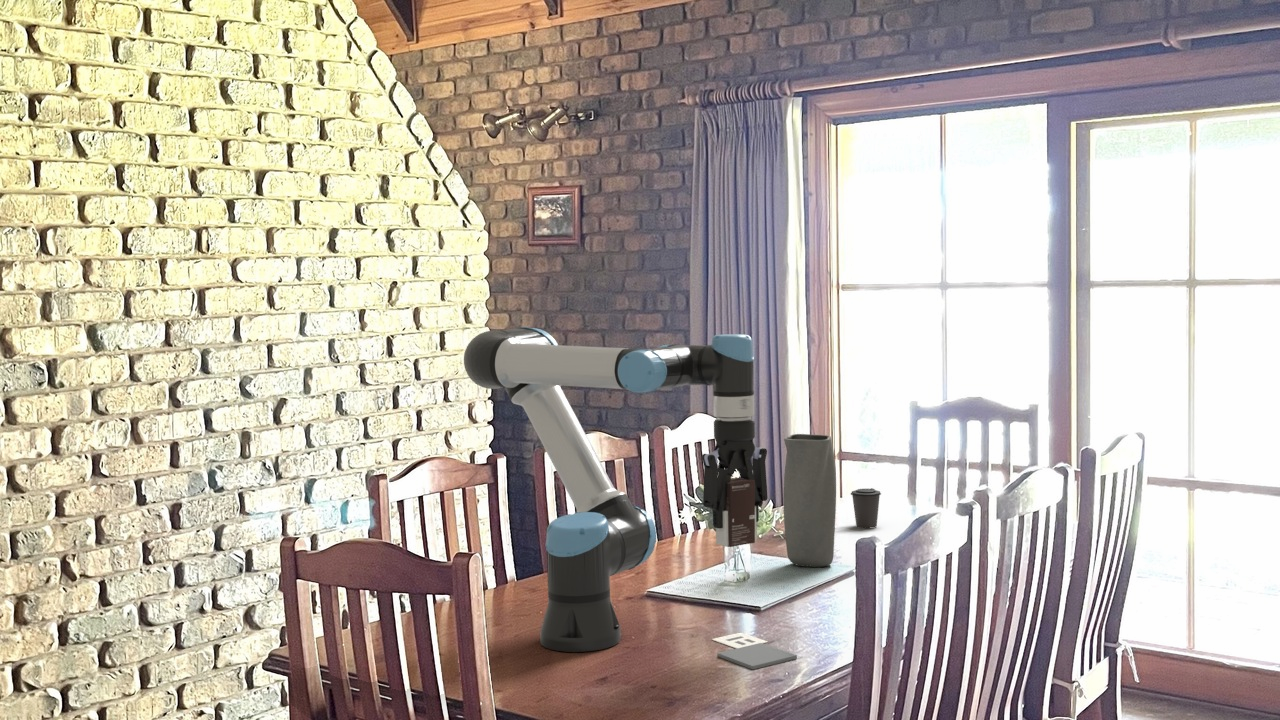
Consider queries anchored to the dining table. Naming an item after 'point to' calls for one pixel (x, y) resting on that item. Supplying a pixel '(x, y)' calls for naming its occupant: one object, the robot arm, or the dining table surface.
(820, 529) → the vase
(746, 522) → the box
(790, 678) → the dining table surface
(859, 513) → the coffee cup
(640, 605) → the dining table surface
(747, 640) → the tile
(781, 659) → the coaster
